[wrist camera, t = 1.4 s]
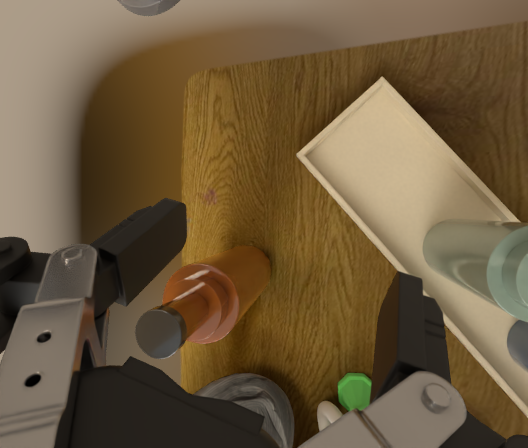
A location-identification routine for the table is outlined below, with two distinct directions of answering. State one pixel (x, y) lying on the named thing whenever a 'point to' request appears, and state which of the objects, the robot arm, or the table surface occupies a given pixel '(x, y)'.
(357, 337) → the table surface
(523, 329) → the slate-blue bottle
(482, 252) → the grey-green bottle
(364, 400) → the game piece
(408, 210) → the tray
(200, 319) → the amber bottle
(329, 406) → the knot
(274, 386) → the decorative stone
